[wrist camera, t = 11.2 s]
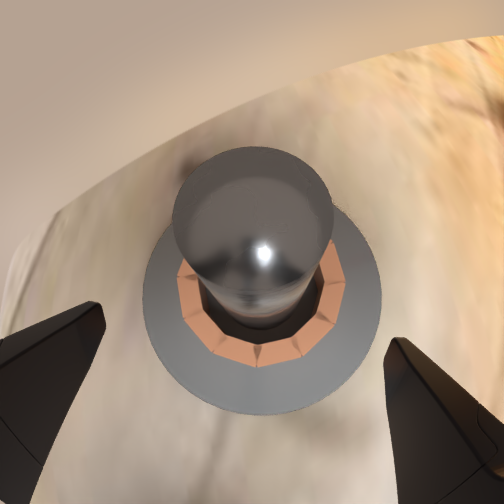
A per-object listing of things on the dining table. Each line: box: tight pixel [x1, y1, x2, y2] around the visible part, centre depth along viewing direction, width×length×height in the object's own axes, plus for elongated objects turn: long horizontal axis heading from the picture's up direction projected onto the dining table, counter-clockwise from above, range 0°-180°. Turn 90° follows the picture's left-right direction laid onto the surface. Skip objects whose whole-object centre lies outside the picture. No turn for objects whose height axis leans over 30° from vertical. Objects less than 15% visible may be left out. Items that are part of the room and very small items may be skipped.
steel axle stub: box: [172, 147, 334, 330], centre depth 15 cm, size 5×5×11 cm
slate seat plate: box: [143, 205, 382, 415], centre depth 19 cm, size 16×16×4 cm
